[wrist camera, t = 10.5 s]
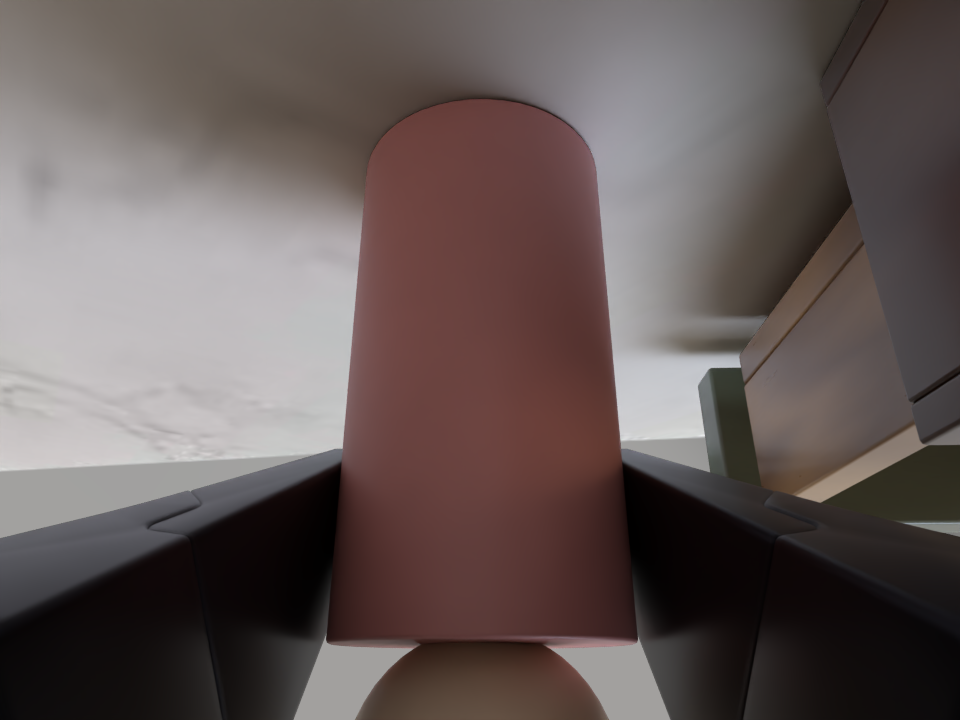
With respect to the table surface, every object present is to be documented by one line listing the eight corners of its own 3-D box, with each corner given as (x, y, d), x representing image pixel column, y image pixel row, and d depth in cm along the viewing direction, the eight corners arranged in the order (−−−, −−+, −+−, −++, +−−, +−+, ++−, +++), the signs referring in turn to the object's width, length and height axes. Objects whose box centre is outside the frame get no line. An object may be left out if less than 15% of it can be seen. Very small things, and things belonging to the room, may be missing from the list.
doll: (324, 193, 12) (230, 993, 8) (464, 52, 9) (448, 1182, 5) (492, 269, 15) (499, 917, 10) (643, 175, 12) (749, 1014, 7)
